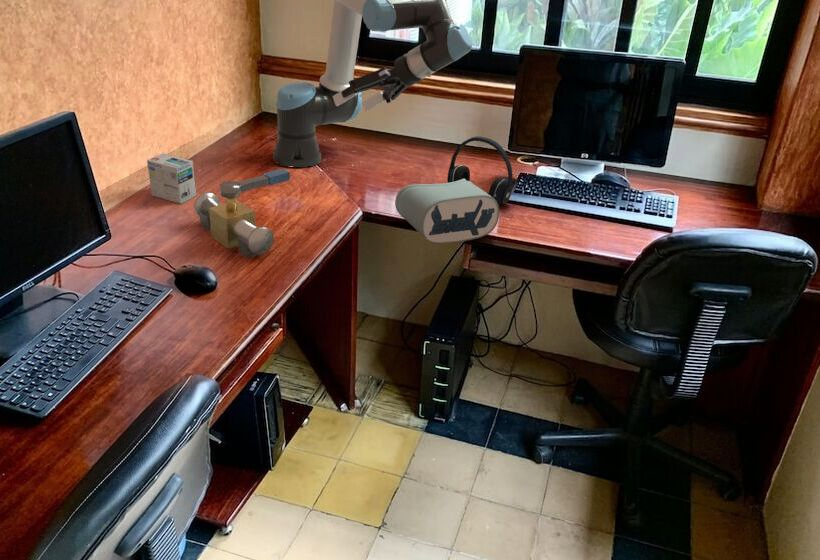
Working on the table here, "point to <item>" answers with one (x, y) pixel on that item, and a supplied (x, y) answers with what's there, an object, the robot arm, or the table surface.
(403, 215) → the grey rounded block
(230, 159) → the table surface
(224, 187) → the lever
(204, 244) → the table surface
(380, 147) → the table surface
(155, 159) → the light bulb box
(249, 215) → the valve body
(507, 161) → the headphones
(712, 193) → the table surface
